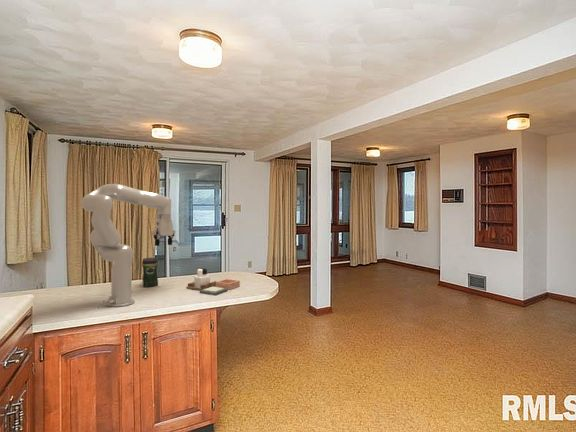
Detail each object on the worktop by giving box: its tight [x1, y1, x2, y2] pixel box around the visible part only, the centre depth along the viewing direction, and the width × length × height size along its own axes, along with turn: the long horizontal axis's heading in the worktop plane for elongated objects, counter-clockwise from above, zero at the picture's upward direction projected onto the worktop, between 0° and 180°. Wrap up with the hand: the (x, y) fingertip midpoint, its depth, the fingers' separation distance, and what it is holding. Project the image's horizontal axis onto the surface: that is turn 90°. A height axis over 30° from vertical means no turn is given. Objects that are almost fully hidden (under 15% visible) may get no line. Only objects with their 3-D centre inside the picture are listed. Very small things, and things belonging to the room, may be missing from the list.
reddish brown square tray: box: [215, 278, 241, 291], centre depth 218 cm, size 11×11×4 cm
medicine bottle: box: [193, 267, 211, 288], centre depth 218 cm, size 7×7×12 cm
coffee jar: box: [141, 257, 159, 288], centre depth 220 cm, size 10×8×19 cm
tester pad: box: [203, 286, 224, 292], centre depth 205 cm, size 9×9×1 cm
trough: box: [185, 280, 217, 292], centre depth 218 cm, size 17×12×3 cm
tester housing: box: [199, 288, 229, 296], centre depth 205 cm, size 12×12×2 cm
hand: (163, 245), depth 206 cm, fingers open, 9 cm apart
